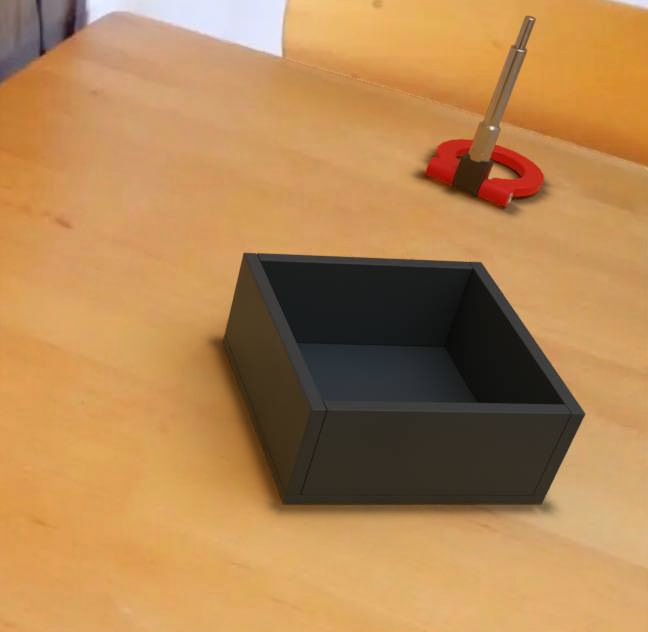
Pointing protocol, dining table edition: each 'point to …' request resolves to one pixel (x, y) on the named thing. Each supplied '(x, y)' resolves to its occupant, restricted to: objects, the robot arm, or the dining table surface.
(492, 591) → the dining table surface
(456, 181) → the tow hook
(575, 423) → the tote
